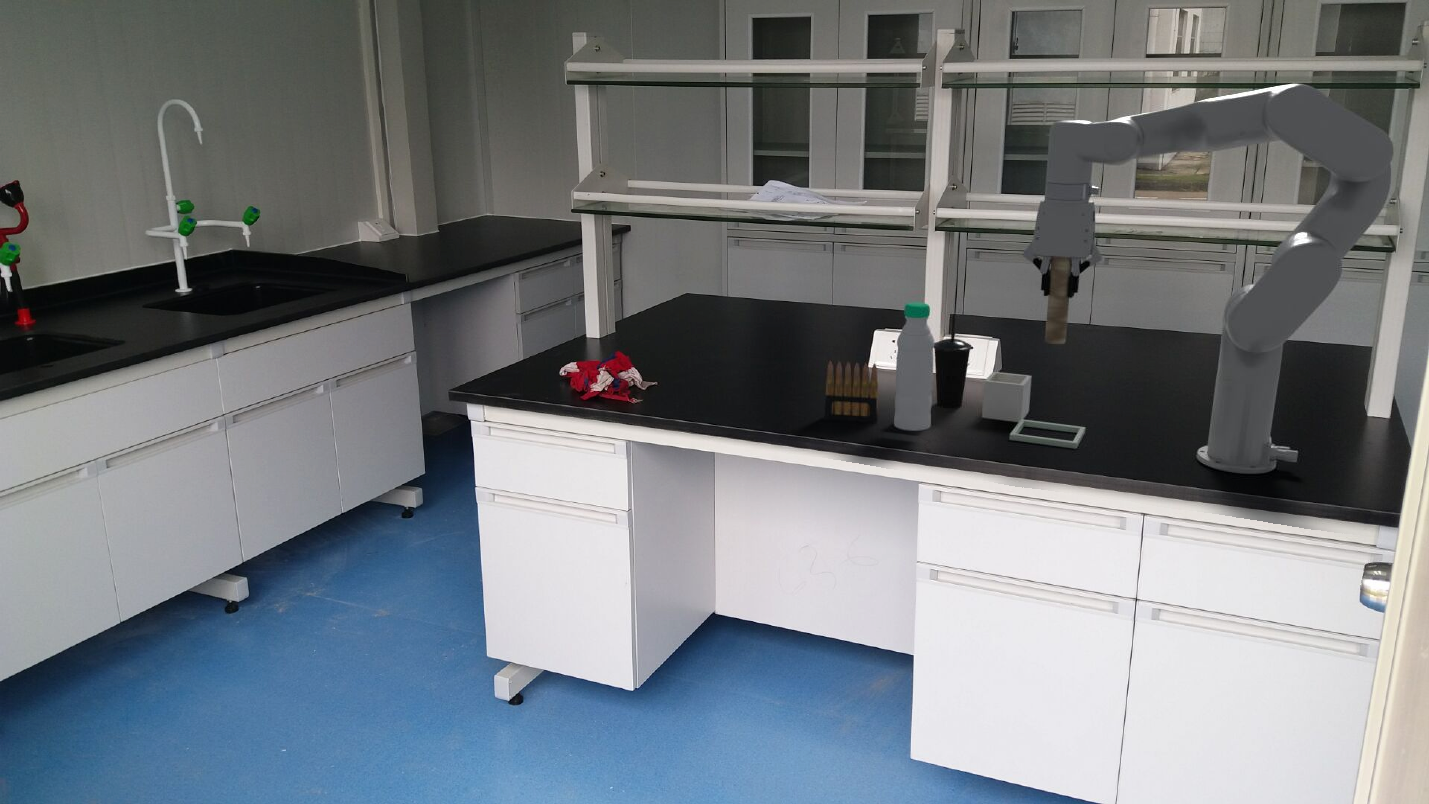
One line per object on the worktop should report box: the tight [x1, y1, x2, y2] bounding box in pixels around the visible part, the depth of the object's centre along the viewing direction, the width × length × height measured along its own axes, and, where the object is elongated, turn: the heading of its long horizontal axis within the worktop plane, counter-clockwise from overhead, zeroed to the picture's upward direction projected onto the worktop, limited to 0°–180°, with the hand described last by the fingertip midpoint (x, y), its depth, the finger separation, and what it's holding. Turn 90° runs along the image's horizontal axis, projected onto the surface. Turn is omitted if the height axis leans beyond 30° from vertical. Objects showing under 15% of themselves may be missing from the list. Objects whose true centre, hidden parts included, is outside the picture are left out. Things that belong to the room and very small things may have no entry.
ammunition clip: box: [823, 360, 879, 424], centre depth 211 cm, size 11×2×12 cm, turn 75°
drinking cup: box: [933, 313, 973, 409], centre depth 215 cm, size 8×8×20 cm
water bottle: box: [893, 302, 936, 432], centre depth 202 cm, size 7×7×25 cm
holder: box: [981, 371, 1032, 423], centre depth 210 cm, size 8×8×8 cm
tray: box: [1009, 419, 1086, 449], centre depth 198 cm, size 12×10×2 cm
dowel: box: [1044, 257, 1072, 345], centre depth 190 cm, size 4×4×18 cm
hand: (1058, 294), depth 190 cm, fingers closed on dowel, 3 cm apart
